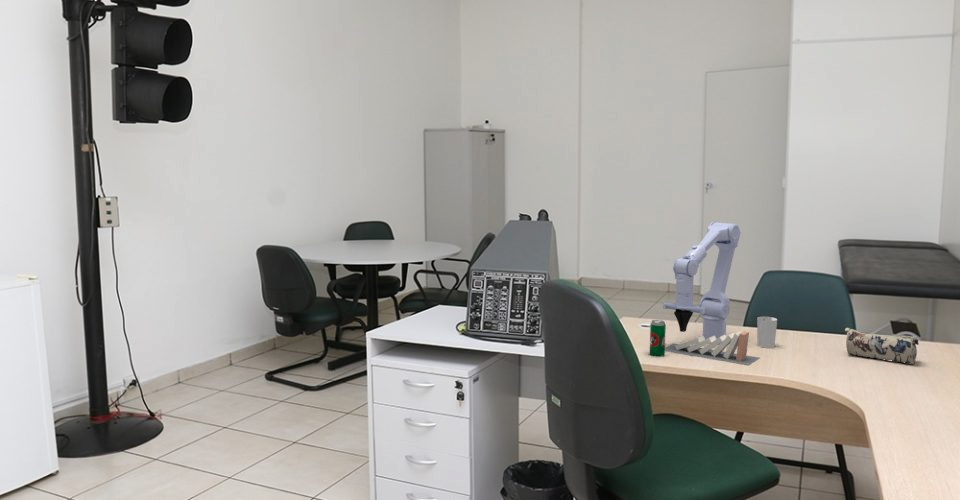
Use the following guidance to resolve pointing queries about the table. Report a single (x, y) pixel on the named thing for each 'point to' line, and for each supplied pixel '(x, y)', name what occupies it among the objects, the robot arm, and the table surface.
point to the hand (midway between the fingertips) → (683, 331)
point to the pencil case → (881, 346)
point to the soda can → (657, 338)
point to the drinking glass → (766, 331)
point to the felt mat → (708, 355)
